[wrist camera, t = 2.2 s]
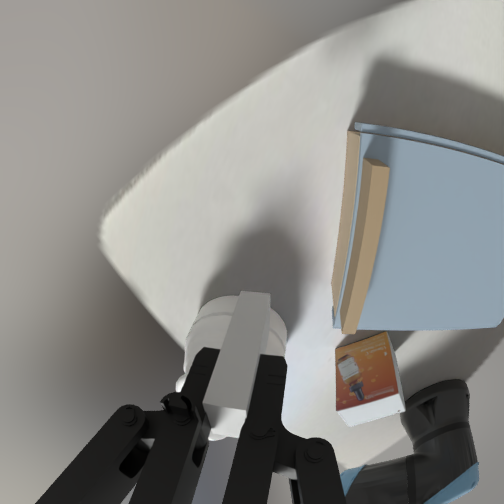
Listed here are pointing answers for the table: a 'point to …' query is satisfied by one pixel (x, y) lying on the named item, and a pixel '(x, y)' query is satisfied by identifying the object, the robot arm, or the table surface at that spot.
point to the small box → (368, 381)
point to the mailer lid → (423, 236)
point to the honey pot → (214, 330)
